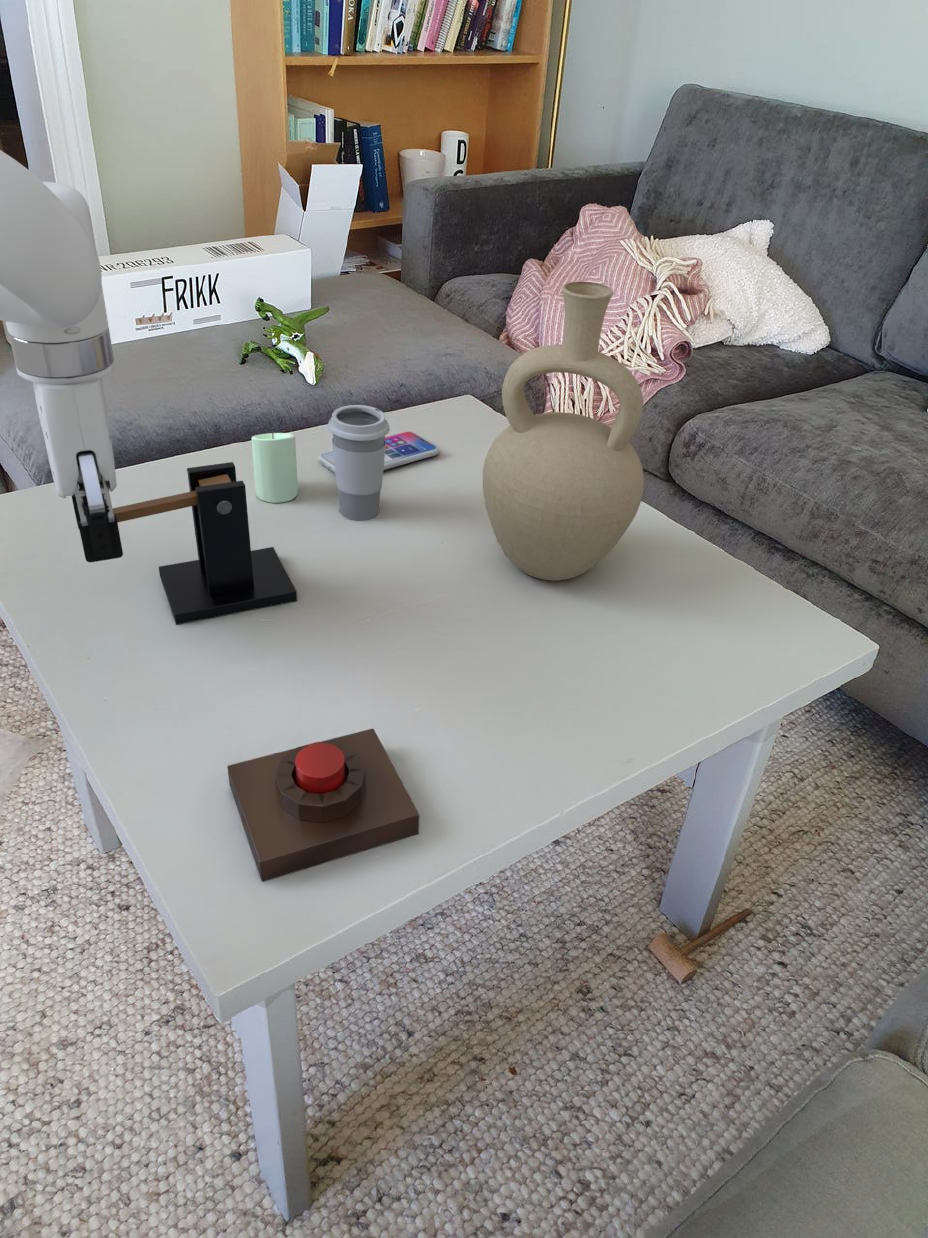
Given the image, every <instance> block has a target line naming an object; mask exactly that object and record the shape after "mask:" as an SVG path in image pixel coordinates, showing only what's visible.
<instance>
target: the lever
mask: <svg viewBox="0 0 928 1238" xmlns="http://www.w3.org/2000/svg"><path fill="white" fill-rule="evenodd" d="M198 482H199V487H200V486H207V485H214V484H221V483H228V482H231V480H230V478H229V476H228V475H227V474H225V475H221V476H216V477H211V478H206V479H202V480H198ZM195 505H197V497H196V491H191V492H190V491H187V492H182V493H178V494H177V493H176V494H173V495H167V496H163V497H160V498H155V499H150V500H146V501H140V502H136V503H131V504H127V505H122V506H118V507H112V509H113V514H114V516H116V518H117V522H118V523H122V522H127V521H131V520H135V519H140V518H145V517H149V516H155V515H158V514H163V513H168V512H173V511H176V510H181V509H185V508H190V507H191V508H192V506H195Z"/></svg>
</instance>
